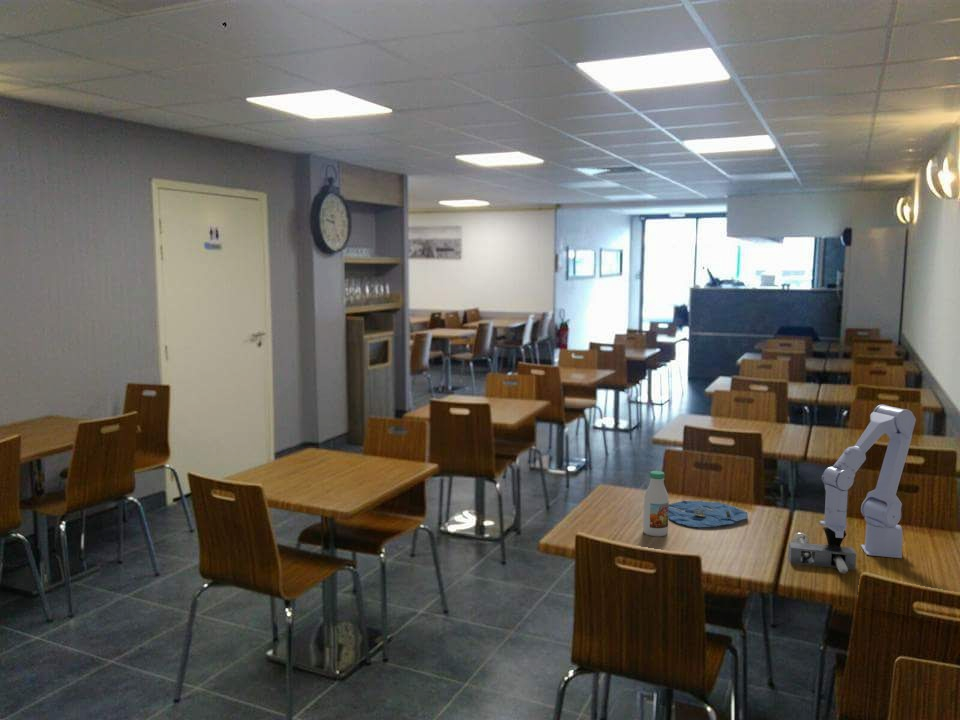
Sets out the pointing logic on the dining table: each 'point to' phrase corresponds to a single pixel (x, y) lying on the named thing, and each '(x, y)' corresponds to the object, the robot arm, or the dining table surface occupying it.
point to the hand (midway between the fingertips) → (833, 553)
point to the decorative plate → (705, 513)
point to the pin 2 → (839, 562)
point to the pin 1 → (802, 539)
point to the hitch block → (821, 555)
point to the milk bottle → (656, 506)
